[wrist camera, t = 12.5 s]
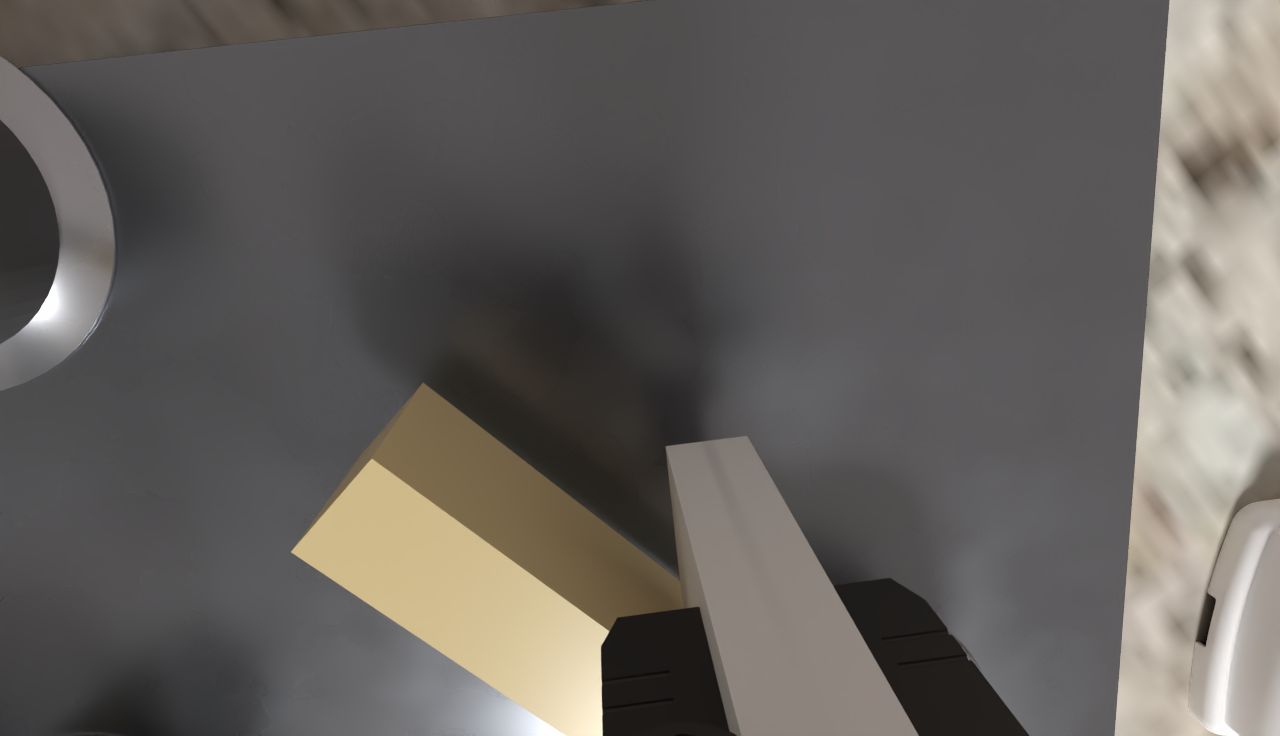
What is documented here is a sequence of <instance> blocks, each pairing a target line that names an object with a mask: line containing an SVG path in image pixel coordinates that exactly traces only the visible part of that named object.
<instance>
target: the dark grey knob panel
mask: <svg viewBox="0 0 1280 736" xmlns="http://www.w3.org/2000/svg"><path fill="white" fill-rule="evenodd" d="M1168 11H1169V0H649V1H639V2H630V3H621V4H611V5H602V6H593V7H583V8H574V9H564V10H555V11H546V12H536V13H527V14H517V15H508V16H499V17H489V18H480V19H470V20H461V21H452V22H442V23H433V24H424V25H414V26H405V27H395V28H386V29H377V30H367V31H358V32H348V33H339V34H330V35H320V36H311V37H301V38H292V39H283V40H273V41H264V42H255V43H245V44H236V45H226V46H217V47H208V48H198V49H189V50H179V51H170V52H161V53H151V54H142V55H133V56H123V57H114V58H104V59H95V60H86V61H76V62H67V63H57V64H48V65H39V66H29V67H20V68H18V67H17V66H15V65H14V64H13V63H11V62H10V61H9V60H7V59H6V58H4V57H3V56H1V55H0V120H1V121H2V122H3V123H4V124H5V125H6V126H7V127H8V128H9V129H10V130H11V131H12V132H13V133H14V134H15V135H16V137H17V138H18V139H19V140H20V142H21V143H22V144H23V145H24V147H25V148H26V149H27V151H28V152H29V154H30V155H31V157H32V159H33V160H34V162H35V163H36V165H37V166H38V168H39V170H40V172H41V174H42V176H43V178H44V180H45V182H46V184H47V186H48V189H49V192H50V195H51V198H52V201H53V204H54V207H55V212H56V216H57V221H58V227H59V241H60V248H59V261H58V267H57V271H56V275H55V280H54V282H53V285H52V287H51V290H50V292H49V295H48V297H47V299H46V300H45V302H44V304H43V305H42V307H41V309H40V310H39V312H38V313H37V314H36V315H35V316H34V318H33V319H32V320H31V321H30V322H29V324H27V325H26V326H25V327H24V328H23V329H22V330H20V331H19V332H18V333H17V334H16V335H14V336H13V337H11V338H10V339H8V340H6V341H5V342H3V343H2V344H0V736H565V735H563V734H562V733H560V732H559V731H557V730H556V729H554V728H553V727H551V726H550V725H548V724H547V723H545V722H544V721H543V720H541V719H540V718H538V717H537V716H535V715H534V714H532V713H531V712H529V711H528V710H526V709H525V708H523V707H522V706H520V705H519V704H517V703H516V702H514V701H513V700H511V699H510V698H508V697H507V696H505V695H504V694H502V693H501V692H499V691H498V690H496V689H495V688H493V687H492V686H490V685H489V684H487V683H486V682H484V681H483V680H481V679H480V678H478V677H477V676H475V675H474V674H472V673H471V672H469V671H468V670H466V669H465V668H463V667H462V666H460V665H459V664H457V663H456V662H454V661H453V660H451V659H450V658H448V657H447V656H445V655H444V654H442V653H441V652H439V651H438V650H436V649H435V648H433V647H432V646H430V645H429V644H427V643H426V642H424V641H423V640H421V639H420V638H418V637H417V636H415V635H414V634H412V633H411V632H410V631H408V630H407V629H405V628H404V627H402V626H401V625H399V624H398V623H396V622H395V621H393V620H392V619H390V618H389V617H387V616H386V615H384V614H383V613H381V612H380V611H378V610H377V609H375V608H374V607H372V606H371V605H369V604H368V603H366V602H365V601H363V600H362V599H360V598H359V597H357V596H356V595H354V594H353V593H351V592H350V591H348V590H347V589H345V588H344V587H342V586H341V585H339V584H338V583H336V582H335V581H333V580H332V579H330V578H329V577H327V576H326V575H324V574H323V573H321V572H320V571H318V570H317V569H315V568H314V567H312V566H311V565H309V564H308V563H306V562H305V561H303V560H302V559H300V558H299V557H297V556H296V555H294V554H293V553H291V551H292V550H293V548H294V547H295V545H296V544H297V543H298V541H299V540H300V538H301V537H302V536H303V534H304V533H305V532H306V530H307V529H308V527H309V526H310V525H311V523H312V522H313V520H314V519H315V518H316V516H317V515H318V514H319V512H320V511H321V509H322V508H323V507H324V505H325V504H326V502H327V501H328V500H329V498H330V497H331V496H332V494H333V493H334V491H335V490H336V489H337V487H338V486H339V484H340V483H341V482H342V480H343V479H344V478H345V476H346V475H347V473H348V472H349V471H350V469H351V468H352V466H353V465H354V464H355V462H356V461H357V460H358V458H359V457H360V455H361V454H362V453H363V452H364V451H365V449H366V448H367V447H368V446H369V445H370V444H371V442H372V441H373V440H374V439H375V438H376V437H377V435H378V434H379V433H380V432H381V431H382V430H383V428H384V427H385V426H386V425H387V424H388V423H389V422H390V420H391V419H392V418H393V417H394V416H395V415H396V413H397V412H398V411H399V410H400V409H401V408H402V406H403V405H404V404H405V403H406V402H407V401H408V399H409V398H410V397H411V396H412V395H413V394H414V393H415V391H416V390H417V389H418V388H419V387H420V386H421V384H422V383H424V384H426V385H427V386H428V387H429V388H431V389H432V390H433V391H435V392H436V393H437V394H439V395H440V396H441V397H442V398H444V399H445V400H446V401H448V402H449V403H450V404H452V405H453V406H454V407H455V408H457V409H458V410H459V411H461V412H462V413H463V414H464V415H466V416H467V417H468V418H470V419H471V420H472V421H474V422H475V423H476V424H477V425H479V426H480V427H481V428H483V429H484V430H485V431H486V432H488V433H489V434H490V435H492V436H493V437H494V438H496V439H497V440H498V441H499V442H501V443H502V444H503V445H505V446H506V447H507V448H508V449H510V450H511V451H512V452H514V453H515V454H516V455H518V456H519V457H520V458H521V459H523V460H524V461H525V462H527V463H528V464H529V465H530V466H532V467H533V468H534V469H536V470H537V471H538V472H540V473H541V474H542V475H543V476H545V477H546V478H547V479H549V480H550V481H551V482H552V483H554V484H555V485H556V486H558V487H559V488H560V489H562V490H563V491H564V492H565V493H567V494H568V495H569V496H571V497H572V498H573V499H574V500H576V501H577V502H578V503H580V504H581V505H582V506H584V507H585V508H586V509H587V510H589V511H590V512H591V513H593V514H594V515H595V516H597V517H598V518H599V519H600V520H602V521H603V522H604V523H606V524H607V525H608V526H609V527H611V528H612V529H613V530H615V531H616V532H617V533H619V534H620V535H621V536H622V537H624V538H625V539H626V540H628V541H629V542H630V543H631V544H633V545H634V546H635V547H637V548H638V549H639V550H641V551H642V552H643V553H644V554H646V555H647V556H648V557H650V558H651V559H652V560H653V561H655V562H656V563H657V564H659V565H660V566H661V567H663V568H664V569H665V570H666V571H668V572H669V573H670V574H672V575H673V576H674V577H675V578H677V579H678V580H679V581H680V576H679V567H678V558H677V548H676V539H675V530H674V520H673V511H672V502H671V493H670V483H669V474H668V465H667V456H666V446H671V445H679V444H687V443H695V442H702V441H710V440H718V439H726V438H734V437H742V436H747V437H748V438H749V440H750V442H751V444H752V445H753V447H754V449H755V451H756V452H757V454H758V456H759V458H760V459H761V461H762V463H763V465H764V466H765V468H766V470H767V471H768V473H769V475H770V477H771V478H772V480H773V482H774V484H775V485H776V487H777V489H778V491H779V492H780V494H781V496H782V498H783V499H784V501H785V503H786V505H787V506H788V508H789V510H790V512H791V513H792V515H793V517H794V519H795V520H796V522H797V524H798V526H799V527H800V529H801V531H802V533H803V534H804V536H805V538H806V540H807V541H808V543H809V545H810V547H811V548H812V550H813V552H814V554H815V555H816V557H817V559H818V561H819V562H820V564H821V566H822V568H823V569H824V571H825V573H826V575H827V576H828V578H829V580H830V582H831V583H832V585H840V584H848V583H855V582H862V581H870V580H877V579H885V578H891V579H893V580H894V581H896V582H898V583H899V584H901V585H903V586H904V587H906V588H907V589H909V590H911V591H912V592H914V593H915V594H917V595H919V596H920V597H922V598H923V599H925V600H926V601H927V602H928V604H929V605H930V606H931V608H932V609H933V610H934V612H935V613H936V614H937V616H938V617H939V618H940V619H941V621H942V622H943V623H944V625H945V626H946V627H947V629H948V633H949V635H953V636H954V638H955V639H956V640H957V642H958V643H959V644H960V646H961V647H962V648H963V650H964V651H965V652H966V653H967V658H968V660H972V661H973V663H974V664H975V665H976V666H977V668H978V669H979V670H980V672H981V673H982V674H983V676H984V677H985V678H986V680H987V681H988V682H989V683H990V685H991V686H992V687H993V689H994V690H995V691H996V693H997V694H998V695H999V697H1000V698H1001V699H1002V700H1003V702H1004V703H1005V704H1006V706H1007V707H1008V708H1009V710H1010V711H1011V712H1012V714H1013V715H1014V716H1015V717H1016V719H1017V720H1018V721H1019V723H1020V724H1021V725H1022V727H1023V728H1024V729H1025V731H1026V732H1027V733H1028V734H1029V736H1114V734H1115V720H1116V707H1117V694H1118V680H1119V667H1120V653H1121V640H1122V627H1123V613H1124V600H1125V587H1126V573H1127V560H1128V546H1129V533H1130V520H1131V506H1132V493H1133V479H1134V466H1135V453H1136V439H1137V426H1138V413H1139V399H1140V386H1141V372H1142V359H1143V346H1144V332H1145V319H1146V306H1147V292H1148V279H1149V265H1150V252H1151V239H1152V225H1153V212H1154V198H1155V185H1156V172H1157V158H1158V145H1159V132H1160V118H1161V105H1162V91H1163V78H1164V65H1165V51H1166V38H1167V25H1168Z"/></svg>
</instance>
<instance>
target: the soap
mask: <svg viewBox="0 0 1280 736" xmlns="http://www.w3.org/2000/svg"><path fill="white" fill-rule="evenodd" d="M1207 593H1209V594H1210V595H1212V596H1213V597H1214V598H1215V599H1216V604H1215V608H1214V612H1213V616H1212V620H1211V624H1210V628H1209V633H1208V637H1207V642H1206V646H1205V645H1203V644H1202V643H1201V642H1196V644H1195V650H1194V656H1193V663H1192V671H1191V679H1190V690H1189V704H1188V707H1189V712H1190V714H1191V715H1192V716H1193V717H1194V718H1195V719H1196V720H1197V721H1198V722H1199V723H1201V724H1202V725H1203V726H1204V727H1205V728H1206V729H1207V730H1209V731H1211V732H1213V733H1215V734H1218V735H1229V736H1280V498H1279V499H1272V500H1265V501H1258V502H1254V503H1250V504H1248V505H1246V506H1244V507H1243V508H1242V509H1240V510H1239V511H1238V512H1237V514H1236V515H1235V516H1234V518H1233V520H1232V522H1231V524H1230V527H1229V529H1228V532H1227V535H1226V537H1225V540H1224V543H1223V545H1222V548H1221V551H1220V554H1219V557H1218V560H1217V563H1216V566H1215V569H1214V572H1213V575H1212V578H1211V581H1210V585H1209V588H1208V592H1207Z"/></svg>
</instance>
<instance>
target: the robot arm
mask: <svg viewBox="0 0 1280 736" xmlns="http://www.w3.org/2000/svg"><path fill="white" fill-rule="evenodd" d="M666 456H667V465H668V474H669V483H670V493H671V502H672V511H673V520H674V530H675V539H676V548H677V558H678V567H679V576H680V585H681V595H682V600H683V605H684V609H677V610H670V611H662V612H655V613H647V614H640V615H632V616H625V617H617V619H616V621H615V623H614V624H613V626H612V628H611V630H610V631H609V633H608V635H607V637H606V639H605V640H604V642H603V644H602V646H601V680H602V712H603V715H602V731H603V736H1029V734H1028V733H1027V732H1026V731H1025V729H1024V728H1023V727H1022V725H1021V724H1020V723H1019V721H1018V720H1017V719H1016V717H1015V716H1014V715H1013V714H1012V712H1011V711H1010V710H1009V708H1008V707H1007V706H1006V704H1005V703H1004V702H1003V700H1002V699H1001V698H1000V697H999V695H998V694H997V693H996V691H995V690H994V689H993V687H992V686H991V685H990V683H989V682H988V681H987V680H986V678H985V677H984V676H983V674H982V673H981V672H980V670H979V669H978V668H977V666H976V665H975V664H974V663H973V661H972V660H968V658H967V653H966V652H965V651H964V650H963V648H962V647H961V646H960V644H959V643H958V642H957V640H956V639H955V638H954V636H953V635H949V633H948V629H947V627H946V626H945V625H944V623H943V622H942V621H941V619H940V618H939V617H938V616H937V614H936V613H935V612H934V610H933V609H932V608H931V606H930V605H929V604H928V602H927V601H926V600H925V599H923V598H922V597H920V596H919V595H917V594H915V593H914V592H912V591H911V590H909V589H907V588H906V587H904V586H903V585H901V584H899V583H898V582H896V581H894V580H893V579H891V578H885V579H877V580H870V581H862V582H855V583H848V584H840V585H832V583H831V582H830V580H829V578H828V576H827V575H826V573H825V571H824V569H823V568H822V566H821V564H820V562H819V561H818V559H817V557H816V555H815V554H814V552H813V550H812V548H811V547H810V545H809V543H808V541H807V540H806V538H805V536H804V534H803V533H802V531H801V529H800V527H799V526H798V524H797V522H796V520H795V519H794V517H793V515H792V513H791V512H790V510H789V508H788V506H787V505H786V503H785V501H784V499H783V498H782V496H781V494H780V492H779V491H778V489H777V487H776V485H775V484H774V482H773V480H772V478H771V477H770V475H769V473H768V471H767V470H766V468H765V466H764V465H763V463H762V461H761V459H760V458H759V456H758V454H757V452H756V451H755V449H754V447H753V445H752V444H751V442H750V440H749V438H748V437H747V436H742V437H734V438H726V439H718V440H710V441H702V442H695V443H687V444H679V445H671V446H666Z"/></svg>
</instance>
